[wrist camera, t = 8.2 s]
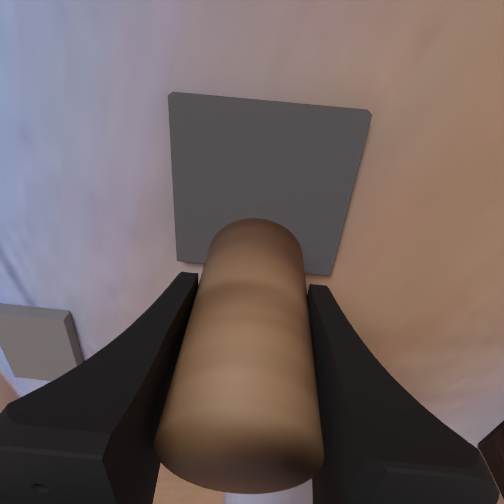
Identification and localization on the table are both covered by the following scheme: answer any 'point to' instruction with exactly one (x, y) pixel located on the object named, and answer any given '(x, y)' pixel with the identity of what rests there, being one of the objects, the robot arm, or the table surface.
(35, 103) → the table surface
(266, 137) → the mat
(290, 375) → the peg
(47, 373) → the tile
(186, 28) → the table surface
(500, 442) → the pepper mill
